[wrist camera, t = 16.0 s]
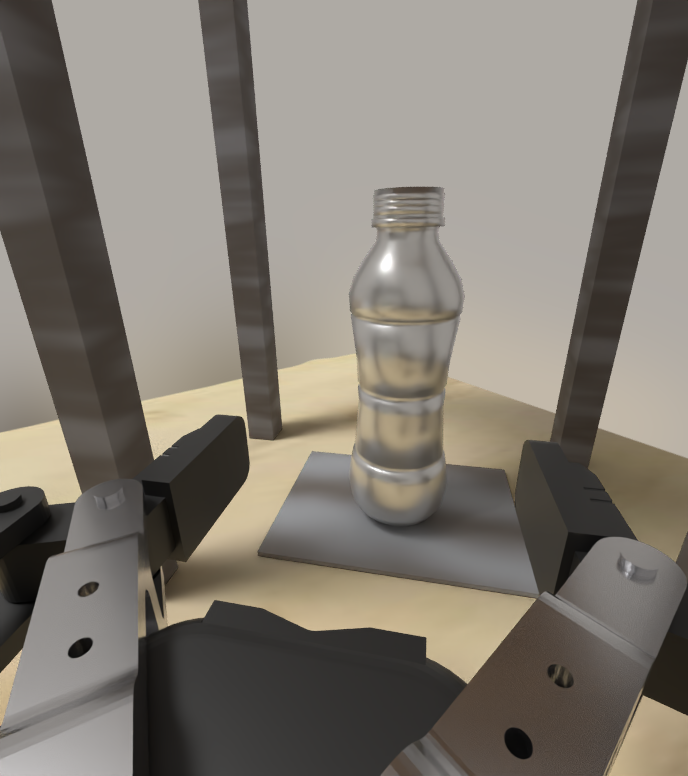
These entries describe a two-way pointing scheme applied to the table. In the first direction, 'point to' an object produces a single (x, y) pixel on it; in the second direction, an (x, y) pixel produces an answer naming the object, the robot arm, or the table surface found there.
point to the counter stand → (254, 305)
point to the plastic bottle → (403, 357)
